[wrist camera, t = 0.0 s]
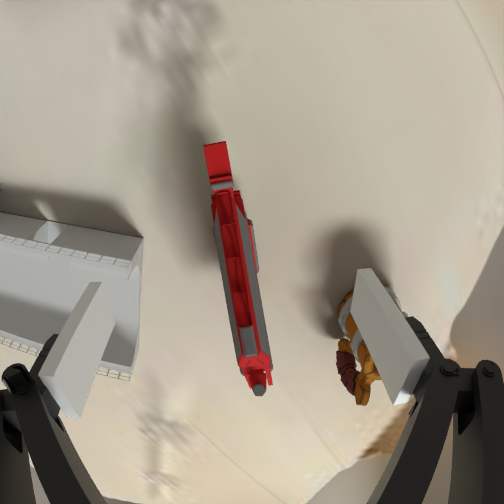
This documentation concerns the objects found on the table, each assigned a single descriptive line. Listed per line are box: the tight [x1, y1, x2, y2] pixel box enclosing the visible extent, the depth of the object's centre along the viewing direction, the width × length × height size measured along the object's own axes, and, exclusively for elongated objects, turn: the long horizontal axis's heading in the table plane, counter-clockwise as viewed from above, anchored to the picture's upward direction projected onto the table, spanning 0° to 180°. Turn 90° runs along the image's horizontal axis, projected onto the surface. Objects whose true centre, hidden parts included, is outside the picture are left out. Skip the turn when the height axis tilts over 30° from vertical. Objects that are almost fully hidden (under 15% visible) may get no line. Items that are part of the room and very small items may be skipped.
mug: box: [336, 284, 408, 406], centre depth 47 cm, size 11×16×15 cm, turn 154°
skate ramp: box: [0, 184, 143, 382], centre depth 41 cm, size 30×27×11 cm
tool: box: [203, 141, 273, 396], centre depth 37 cm, size 24×5×25 cm
